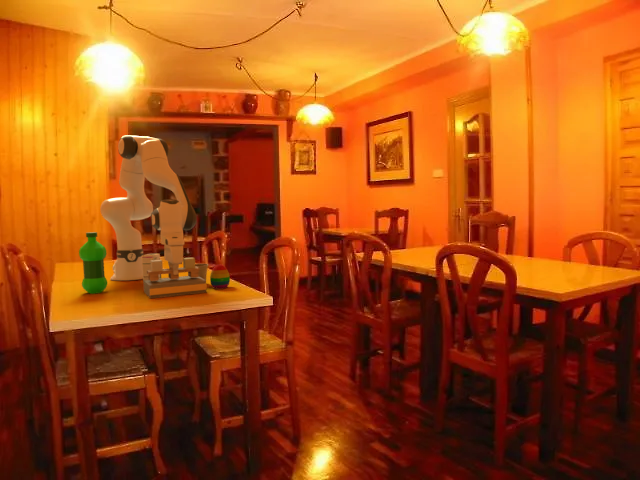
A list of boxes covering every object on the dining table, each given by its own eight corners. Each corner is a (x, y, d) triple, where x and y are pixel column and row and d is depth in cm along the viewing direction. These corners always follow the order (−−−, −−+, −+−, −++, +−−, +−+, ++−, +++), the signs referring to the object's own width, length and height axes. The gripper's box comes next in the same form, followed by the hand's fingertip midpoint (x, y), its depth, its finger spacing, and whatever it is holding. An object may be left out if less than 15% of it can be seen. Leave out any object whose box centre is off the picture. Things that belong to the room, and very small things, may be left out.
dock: (144, 292, 223) (143, 280, 222) (197, 286, 232) (196, 275, 232) (150, 298, 208) (149, 285, 207) (206, 292, 217) (206, 280, 217)
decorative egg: (227, 289, 224) (226, 265, 223) (208, 289, 225) (207, 265, 224) (232, 285, 232) (231, 262, 231) (213, 286, 233) (212, 263, 232)
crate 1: (150, 270, 218) (150, 260, 217) (161, 269, 219) (160, 259, 219) (152, 271, 214) (151, 261, 214) (162, 270, 216) (162, 260, 215)
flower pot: (183, 285, 236) (182, 266, 235) (195, 282, 244) (194, 263, 244) (201, 286, 232) (201, 266, 232) (213, 283, 241) (212, 263, 240)
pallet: (147, 279, 218) (146, 270, 218) (196, 274, 227) (196, 266, 226) (149, 281, 213) (148, 272, 212) (199, 276, 221) (199, 268, 221)
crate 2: (183, 267, 223) (183, 258, 223) (193, 266, 225) (192, 257, 225) (185, 268, 220) (185, 259, 219) (195, 268, 221) (194, 258, 221)
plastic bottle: (93, 289, 231) (90, 231, 229) (113, 290, 228) (110, 231, 225) (76, 294, 222) (72, 233, 220) (96, 295, 218) (92, 233, 216)
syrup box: (155, 288, 230) (153, 254, 229) (143, 288, 232) (141, 254, 230) (162, 286, 236) (160, 253, 235) (149, 286, 237) (148, 253, 236)
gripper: (159, 238, 226) (161, 270, 228) (168, 241, 208) (170, 277, 209) (175, 237, 229) (176, 269, 230) (185, 240, 211) (186, 275, 212)
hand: (173, 273), depth 220 cm, fingers closed on pallet, 6 cm apart
